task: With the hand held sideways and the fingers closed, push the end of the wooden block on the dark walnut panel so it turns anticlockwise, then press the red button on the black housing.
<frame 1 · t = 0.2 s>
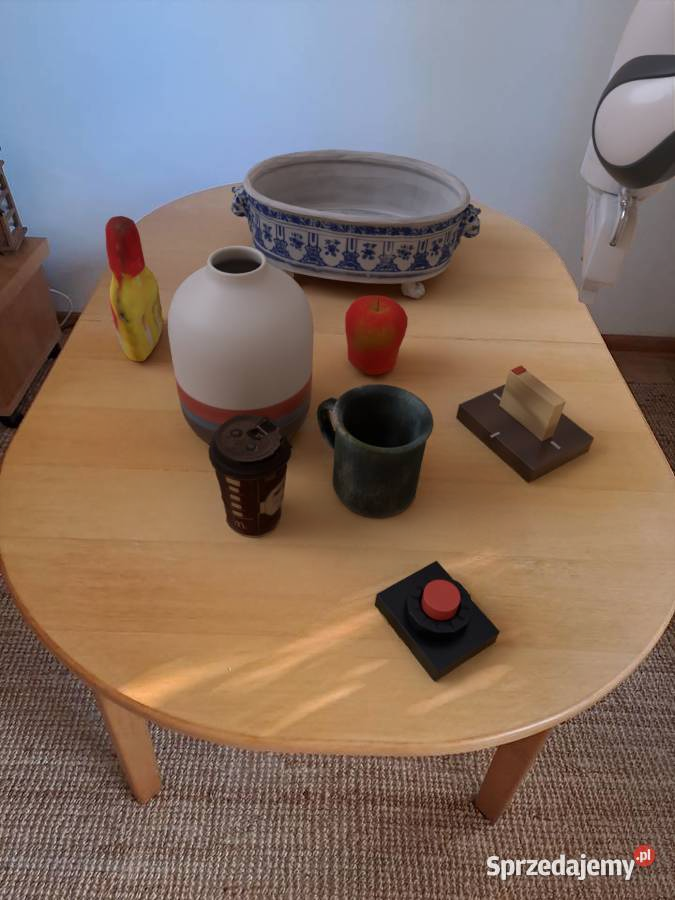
hand: (586, 279, 80), 20 cm above the table, tool pointing down, fingers open, 8 cm apart
button box: (433, 623, 69), on the table
handle panel: (520, 434, 90), on the table
vase: (247, 420, 90), on the table
wooden block: (531, 402, 86), point 6 cm above the table, hinge at 0.0°
mug: (363, 482, 83), on the table
red button: (440, 600, 66), point 4 cm above the table, slide at 0.1 cm
decorative bowl: (351, 263, 119), on the table
bottle: (142, 345, 100), on the table
apple: (371, 367, 99), on the table
coffee cup: (255, 517, 78), on the table
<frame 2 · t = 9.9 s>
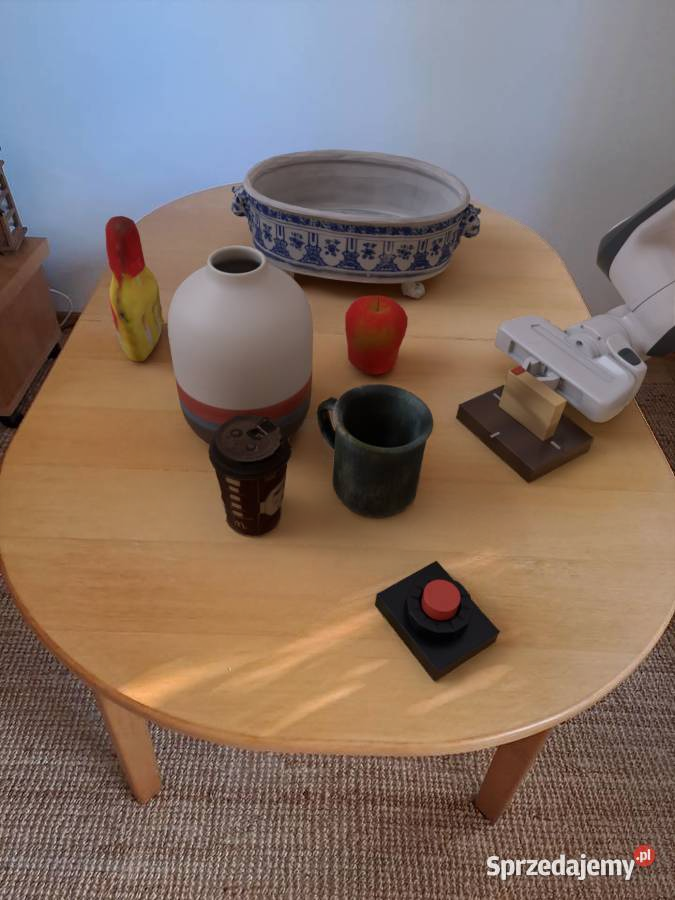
hand: (518, 383, 88), 6 cm above the table, tool horizontal, fingers closed, pressing on wooden block
wooden block: (531, 402, 86), point 6 cm above the table, hinge at 2.6°, touching gripper
everything else where it was.
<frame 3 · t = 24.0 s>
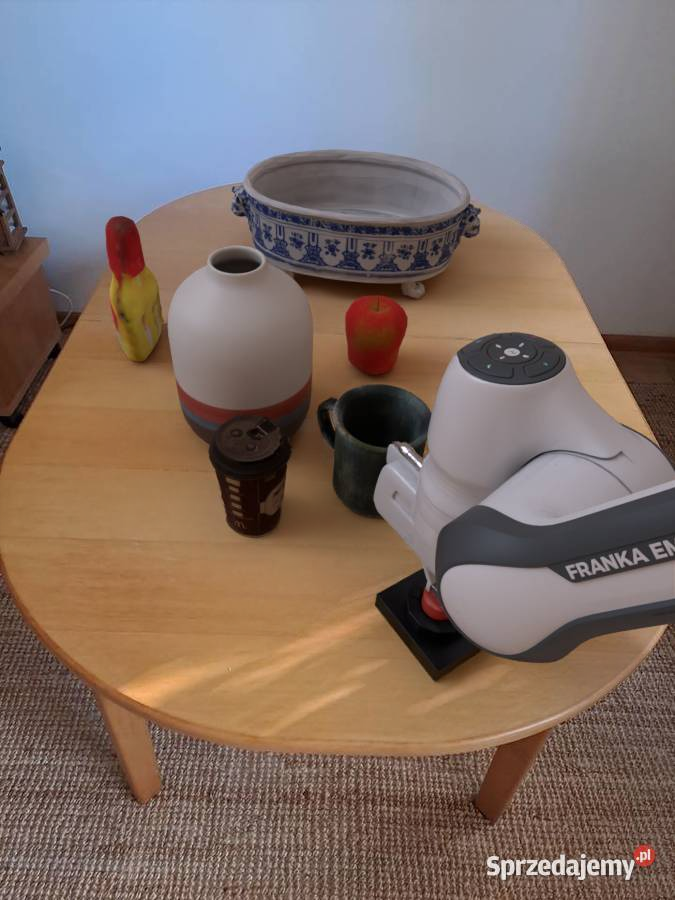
hand: (441, 597, 65), 5 cm above the table, tool pointing down, fingers closed, pressing on red button
wooden block: (531, 402, 86), point 6 cm above the table, hinge at 54.0°
red button: (440, 600, 66), point 4 cm above the table, slide at 0.1 cm, touching gripper
everything else where it was.
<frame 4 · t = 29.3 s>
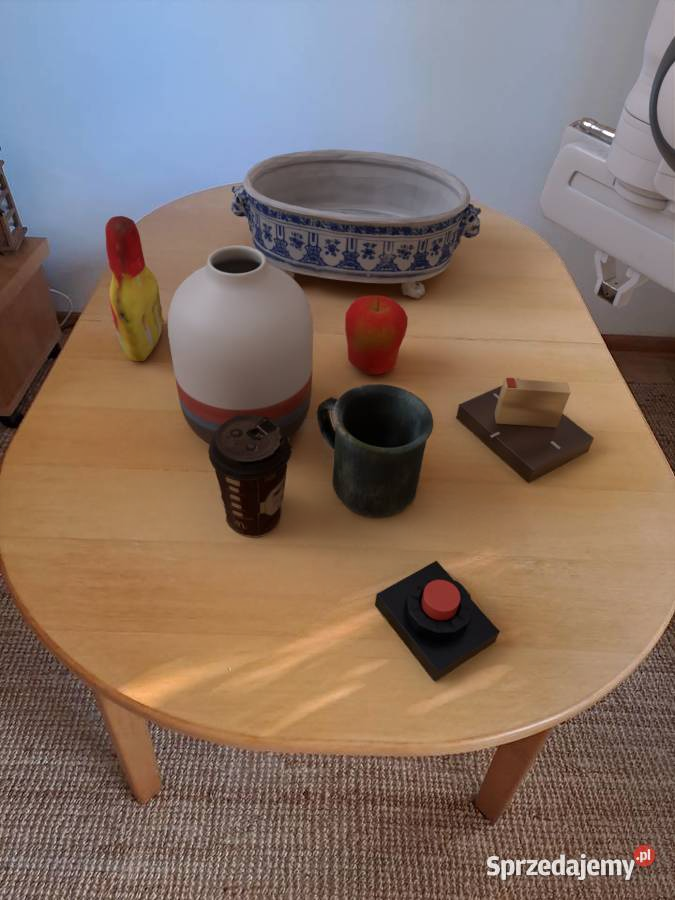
hand: (609, 299, 64), 27 cm above the table, tool pointing down, fingers closed
red button: (440, 600, 66), point 4 cm above the table, slide at 0.1 cm
everything else where it was.
at the end: wooden block at +54° (first picture: +0°); red button pushed in 1.1 cm at the most during the clip, back to where it started at the end; red button slide at 0.1 cm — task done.
